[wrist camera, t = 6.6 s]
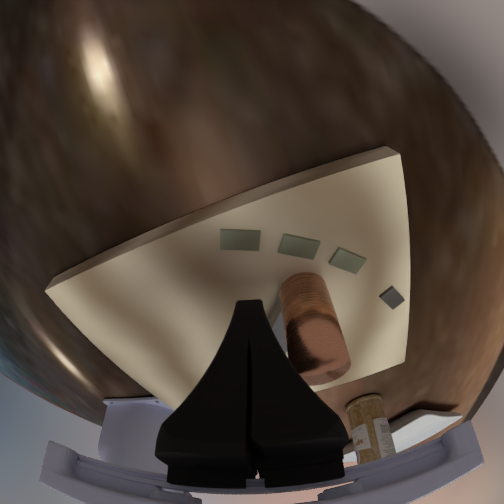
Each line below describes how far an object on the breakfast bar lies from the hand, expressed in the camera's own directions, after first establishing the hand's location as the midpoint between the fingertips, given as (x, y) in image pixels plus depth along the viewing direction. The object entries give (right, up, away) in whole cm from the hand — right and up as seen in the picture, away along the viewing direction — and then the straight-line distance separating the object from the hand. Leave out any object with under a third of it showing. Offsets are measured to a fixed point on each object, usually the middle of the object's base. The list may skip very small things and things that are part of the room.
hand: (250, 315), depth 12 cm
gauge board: (0, -2, +6) cm, 7 cm away
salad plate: (+27, -30, +26) cm, 48 cm away
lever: (+1, -5, +6) cm, 7 cm away
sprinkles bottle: (+13, -15, +15) cm, 25 cm away
